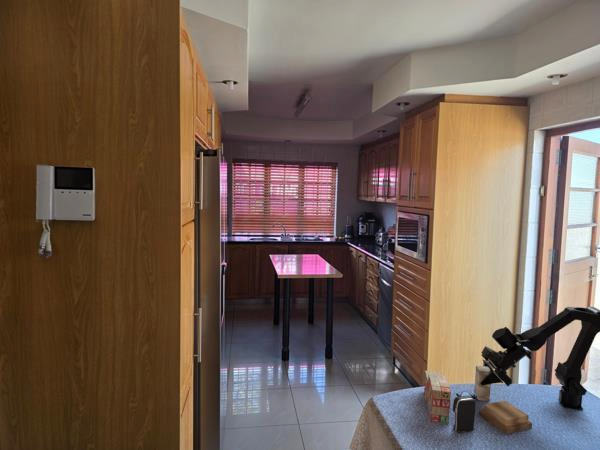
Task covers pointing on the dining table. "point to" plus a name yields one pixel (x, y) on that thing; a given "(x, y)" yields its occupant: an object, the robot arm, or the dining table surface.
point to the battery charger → (464, 413)
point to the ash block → (482, 390)
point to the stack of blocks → (437, 396)
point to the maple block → (506, 413)
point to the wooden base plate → (501, 427)
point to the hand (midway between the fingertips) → (479, 381)
